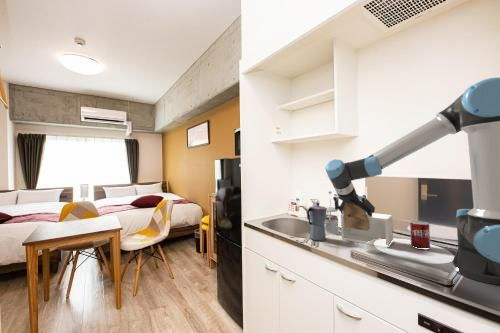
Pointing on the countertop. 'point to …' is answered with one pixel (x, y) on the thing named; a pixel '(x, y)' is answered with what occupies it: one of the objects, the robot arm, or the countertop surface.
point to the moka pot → (317, 222)
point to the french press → (331, 221)
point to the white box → (370, 230)
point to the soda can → (420, 234)
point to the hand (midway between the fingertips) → (358, 217)
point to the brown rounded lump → (355, 217)
